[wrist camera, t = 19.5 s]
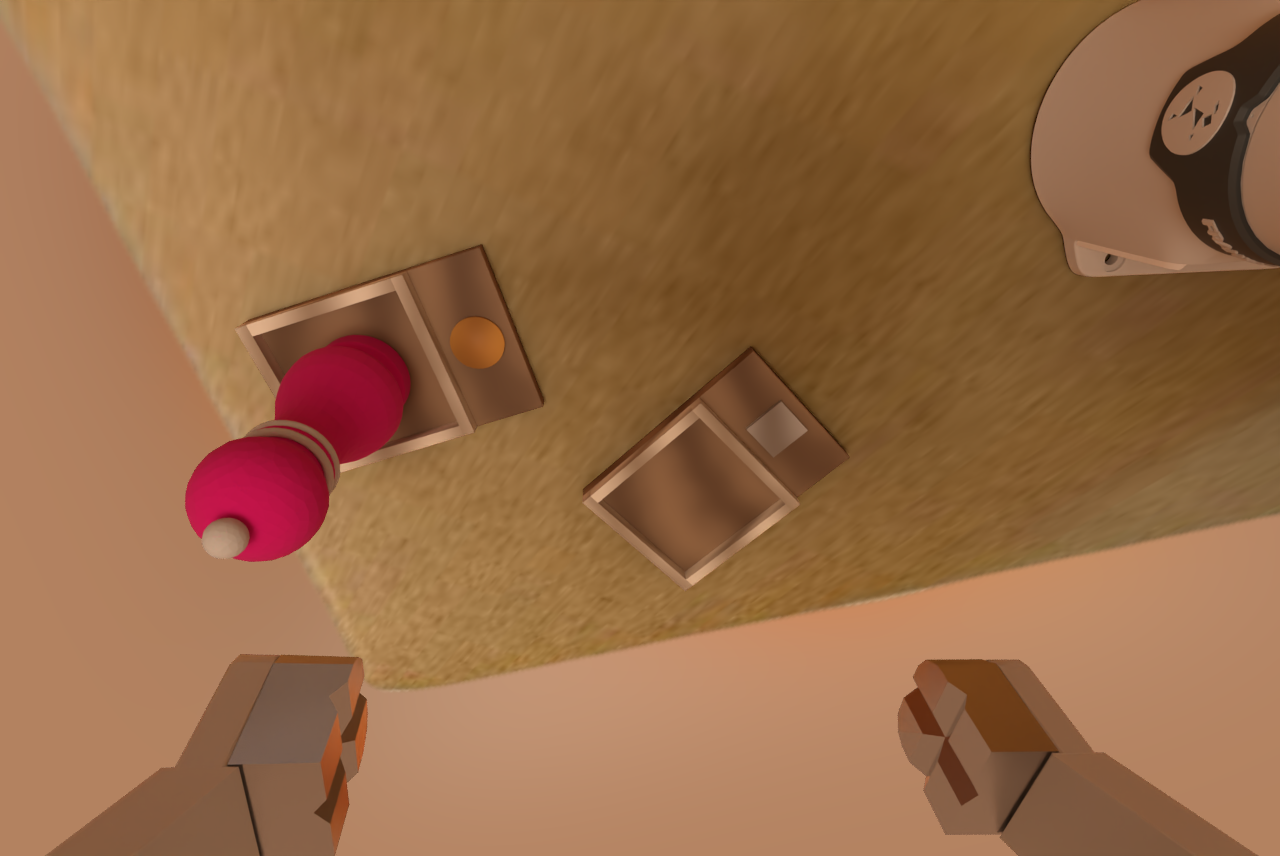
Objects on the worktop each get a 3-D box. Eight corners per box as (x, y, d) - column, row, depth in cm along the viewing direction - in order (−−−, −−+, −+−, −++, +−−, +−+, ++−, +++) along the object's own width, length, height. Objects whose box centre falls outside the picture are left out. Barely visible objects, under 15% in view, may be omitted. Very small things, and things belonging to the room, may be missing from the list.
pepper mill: (364, 443, 49) (225, 642, 31) (286, 367, 46) (84, 536, 28) (440, 388, 48) (341, 563, 29) (364, 305, 45) (203, 443, 27)
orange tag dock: (481, 244, 44) (476, 250, 43) (544, 400, 49) (541, 412, 48) (249, 319, 46) (234, 328, 44) (332, 464, 51) (322, 477, 49)
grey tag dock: (750, 346, 48) (756, 356, 47) (845, 451, 52) (854, 463, 51) (583, 489, 53) (582, 502, 51) (682, 575, 57) (685, 591, 55)
